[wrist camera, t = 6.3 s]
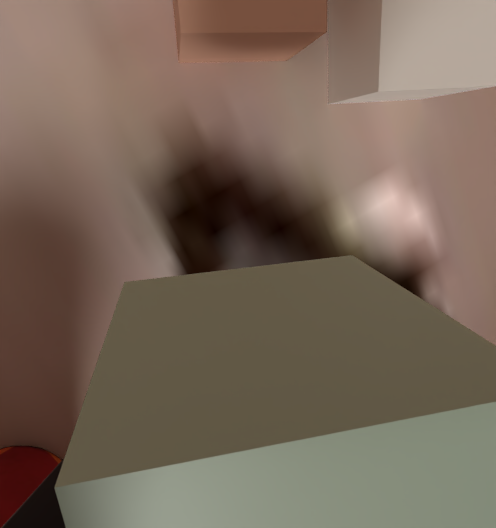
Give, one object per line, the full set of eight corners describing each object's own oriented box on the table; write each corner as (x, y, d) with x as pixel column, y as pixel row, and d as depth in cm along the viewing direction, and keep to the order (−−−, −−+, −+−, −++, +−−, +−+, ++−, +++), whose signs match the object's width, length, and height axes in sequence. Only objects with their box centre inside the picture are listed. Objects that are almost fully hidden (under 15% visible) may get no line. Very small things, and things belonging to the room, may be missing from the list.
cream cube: (427, -15, 18) (517, -70, 13) (419, 99, 20) (496, 86, 15) (327, -15, 17) (385, -74, 13) (327, 104, 19) (378, 91, 14)
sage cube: (352, 255, 9) (563, 388, 4) (346, 433, 10) (494, 680, 6) (124, 281, 8) (54, 486, 3) (157, 470, 9) (142, 794, 5)
